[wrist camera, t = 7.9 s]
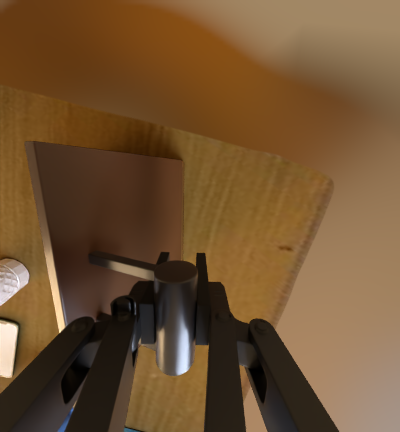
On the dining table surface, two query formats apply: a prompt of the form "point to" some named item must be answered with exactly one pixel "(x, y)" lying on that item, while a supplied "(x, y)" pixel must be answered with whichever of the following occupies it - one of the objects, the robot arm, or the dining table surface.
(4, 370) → the smartphone
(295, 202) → the dining table surface
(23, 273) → the white cup
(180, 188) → the brown wooden lid
